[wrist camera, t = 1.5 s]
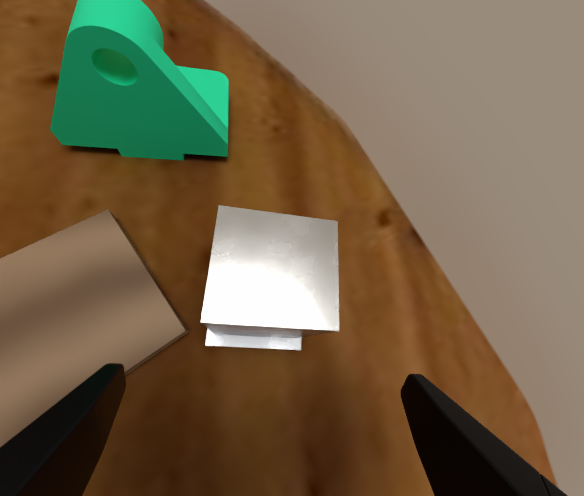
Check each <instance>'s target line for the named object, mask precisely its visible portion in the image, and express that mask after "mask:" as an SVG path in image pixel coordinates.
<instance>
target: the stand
mask: <svg viewBox="0 0 584 496" xmlns="http://www.w3.org/2000/svg"><path fill="white" fill-rule="evenodd" d="M188 332H189V331H188V330H187V328H186V327H185V325H184V323H183V322H182V320H181V319H180V317H179V316H178V314H177V313H176V311H175V309H174V308H173V306H172V305H171V303H170V302H169V300H168V298H167V297H166V295H165V294H164V292H163V291H162V289H161V288H160V286H159V284H158V283H157V281H156V280H155V278H154V277H153V275H152V273H151V272H150V270H149V269H148V267H147V266H146V264H145V263H144V261H143V259H142V258H141V256H140V255H139V253H138V252H137V250H136V248H135V247H134V245H133V244H132V242H131V241H130V239H129V238H128V236H127V234H126V233H125V231H124V230H123V228H122V227H121V225H120V223H119V222H118V220H117V219H116V218H115V217H114V215H113V214H112V213H111V212H110V211H109V210H106V211H103V212H101V213H99V214H97V215H95V216H92V217H90V218H88V219H86V220H84V221H82V222H79V223H77V224H75V225H73V226H71V227H68V228H66V229H64V230H62V231H60V232H58V233H55V234H53V235H51V236H49V237H47V238H44V239H42V240H40V241H38V242H36V243H33V244H31V245H29V246H27V247H25V248H23V249H20V250H18V251H16V252H14V253H12V254H9V255H7V256H5V257H3V258H1V259H0V447H1V446H2V445H4V444H5V443H6V442H7V441H9V440H10V439H11V438H12V437H14V436H15V435H16V434H18V433H19V432H20V431H21V430H23V429H24V428H25V427H26V426H28V425H29V424H30V423H31V422H33V421H34V420H35V419H37V418H38V417H39V416H40V415H42V414H43V413H44V412H45V411H47V410H48V409H49V408H51V407H52V406H53V405H54V404H56V403H57V402H58V401H59V400H61V399H62V398H63V397H64V396H66V395H67V394H68V393H70V392H71V391H72V390H73V389H75V388H76V387H77V386H78V385H80V384H81V383H82V382H83V381H85V380H86V379H87V378H89V377H90V376H91V375H92V374H94V373H95V372H96V371H97V370H99V369H100V368H101V367H103V366H104V365H105V364H108V363H121V364H123V366H124V372H125V376H126V375H127V374H129V373H130V372H131V371H133V370H134V369H136V368H137V367H139V366H140V365H142V364H143V363H145V362H146V361H148V360H149V359H150V358H152V357H153V356H155V355H156V354H158V353H159V352H161V351H162V350H164V349H165V348H167V347H168V346H169V345H171V344H172V343H174V342H175V341H177V340H178V339H180V338H181V337H183V336H184V335H186V334H187V333H188Z"/></svg>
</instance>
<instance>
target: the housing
mask: <svg viewBox="0 0 584 496" xmlns="http://www.w3.org/2000/svg"><path fill="white" fill-rule="evenodd" d="M201 323H202V324H203V325H204V326H206V327H207V328H208V329H207V336H206V342H205V345H206V346H226V347H246V348H266V349H287V350H301V337H306V336H312V335H318V334H324V333H330V332H336V331H339V284H338V221H331V220H324V219H317V218H309V217H302V216H294V215H287V214H279V213H272V212H265V211H257V210H250V209H242V208H235V207H227V206H220V205H219V208H218V214H217V220H216V227H215V233H214V240H213V246H212V252H211V259H210V265H209V272H208V278H207V284H206V291H205V297H204V303H203V310H202V316H201Z"/></svg>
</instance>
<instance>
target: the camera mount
mask: <svg viewBox="0 0 584 496" xmlns="http://www.w3.org/2000/svg"><path fill="white" fill-rule="evenodd" d="M163 44H164V40H163V33H162V30H161V27H160V25H159V23H158V21H157V19H156V18H155V16H154V15H153V13H152V12H151V11H150V9H149V8H148V7H147V6H146V5H145V4H144V3H143V2H142V1H141V0H78V1H77V4H76V8H75V11H74V15H73V18H72V21H71V25H70V28H69V32H68V35H67V38H66V43H65V48H64V54H63V60H62V65H61V71H60V77H59V82H58V88H57V94H56V100H55V105H54V111H53V117H52V122H51V128H50V130H51V131H52V133H53V134H54V135H55V136H56V137H57V139H58V140H59V141H60V142H61V143H62V145H72V146H86V147H100V148H114V149H118V151H119V152H120V154H121V156H125V157H140V158H154V159H169V160H184V154H197V155H210V156H224V157H228V112H229V83H228V78H227V77H226V76H225V75H224V74H223V73H220V72H217V71H211V70H203V69H196V68H188V67H181V66H175V64H174V63H173V62H172V61H171V60H170V58H169V57H168V56H167V55H166V54H165V52H164V51H163Z"/></svg>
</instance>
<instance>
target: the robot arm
mask: <svg viewBox="0 0 584 496" xmlns="http://www.w3.org/2000/svg"><path fill="white" fill-rule="evenodd" d="M125 386H126V381H125V372H124V366H123V364H121V363H108V364H105V365H104V366H103V367H101V368H100V369H99V370H97V371H96V372H95V373H94V374H92V375H91V376H90V377H89V378H87V379H86V380H85V381H83V382H82V383H81V384H80V385H78V386H77V387H76V388H75V389H73V390H72V391H71V392H70V393H68V394H67V395H66V396H64V397H63V398H62V399H61V400H59V401H58V402H57V403H56V404H54V405H53V406H52V407H51V408H49V409H48V410H47V411H45V412H44V413H43V414H42V415H40V416H39V417H38V418H37V419H35V420H34V421H33V422H31V423H30V424H29V425H28V426H26V427H25V428H24V429H23V430H21V431H20V432H19V433H18V434H16V435H15V436H14V437H12V438H11V439H10V440H9V441H7V442H6V443H5V444H4V445H2V446H1V447H0V496H82V495H83V493H84V490H85V488H86V486H87V484H88V482H89V480H90V478H91V476H92V473H93V471H94V469H95V467H96V465H97V463H98V461H99V458H100V456H101V454H102V452H103V449H104V447H105V444H106V441H107V438H108V436H109V433H110V430H111V427H112V425H113V422H114V419H115V416H116V413H117V411H118V408H119V405H120V402H121V399H122V397H123V394H124V391H125ZM401 399H402V402H403V406H404V409H405V413H406V416H407V419H408V423H409V426H410V430H411V433H412V436H413V440H414V443H415V446H416V449H417V451H418V454H419V457H420V459H421V462H422V464H423V467H424V470H425V472H426V475H427V477H428V480H429V482H430V485H431V488H432V490H433V493H434V495H435V496H567V495H566V494H565V493H563V492H562V491H561V490H560V489H559V488H557V487H556V486H555V485H554V484H553V483H551V482H550V481H549V480H548V479H547V478H545V477H544V476H543V475H542V474H539V472H538V471H537V470H536V469H535V468H533V467H532V466H531V465H530V464H529V463H527V462H526V461H525V460H524V459H523V458H521V457H520V456H519V455H518V454H517V453H515V452H514V451H513V450H512V449H511V448H509V447H508V446H507V445H506V444H505V443H503V442H502V441H501V440H500V439H499V438H497V437H496V436H495V435H494V434H493V433H491V432H490V431H489V430H488V429H487V428H485V427H484V426H483V425H482V424H481V423H479V422H478V421H477V420H476V419H475V418H473V417H472V416H471V415H470V414H469V413H467V412H466V411H465V410H464V409H463V408H461V407H460V406H459V405H458V404H457V403H455V402H454V401H453V400H452V399H451V398H449V397H448V396H447V395H446V394H445V393H443V392H442V391H441V390H440V389H439V388H437V387H436V386H435V385H434V384H433V383H431V382H430V381H429V380H428V379H427V378H425V377H424V376H423V375H421V374H409V375H408V376H407V378H406V380H405V383H404V385H403V387H402V389H401Z"/></svg>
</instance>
